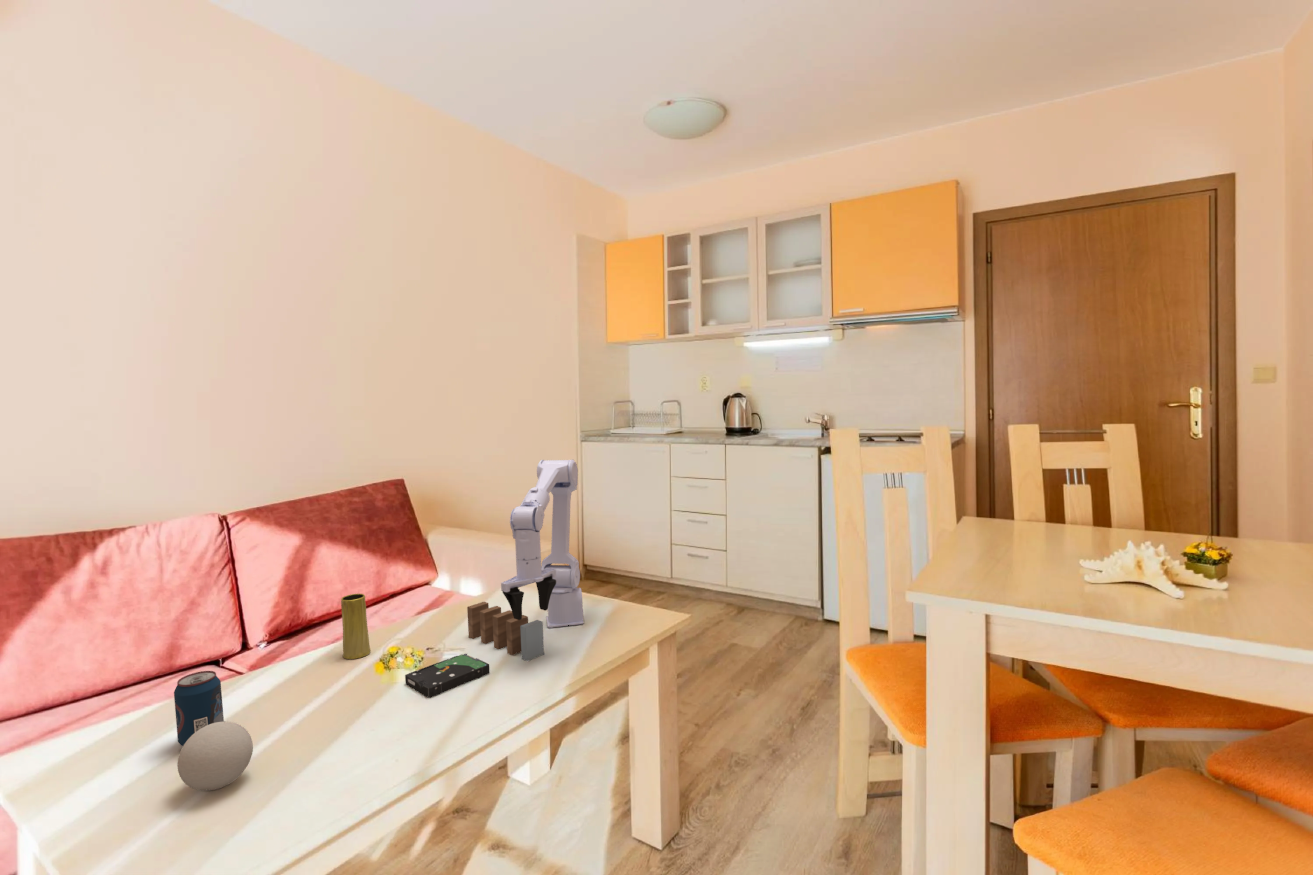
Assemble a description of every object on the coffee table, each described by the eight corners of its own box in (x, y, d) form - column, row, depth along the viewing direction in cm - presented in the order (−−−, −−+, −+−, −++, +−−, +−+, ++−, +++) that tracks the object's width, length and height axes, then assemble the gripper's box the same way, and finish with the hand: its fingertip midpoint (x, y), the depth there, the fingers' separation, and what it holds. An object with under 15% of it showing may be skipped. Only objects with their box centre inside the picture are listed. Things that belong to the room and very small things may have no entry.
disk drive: (429, 701, 130) (490, 675, 141) (428, 688, 129) (490, 662, 141) (404, 687, 136) (465, 662, 148) (403, 674, 136) (464, 651, 147)
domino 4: (544, 654, 150) (542, 621, 150) (527, 661, 146) (525, 627, 146) (538, 652, 152) (537, 619, 151) (521, 659, 148) (520, 625, 147)
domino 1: (502, 637, 161) (501, 607, 160) (485, 644, 157) (484, 612, 157) (497, 636, 162) (496, 605, 162) (481, 642, 159) (479, 611, 158)
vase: (337, 657, 151) (333, 599, 150) (357, 647, 157) (354, 591, 156) (356, 661, 149) (352, 602, 148) (376, 650, 155) (372, 594, 154)
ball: (167, 809, 96) (161, 747, 96) (197, 772, 106) (193, 714, 105) (240, 798, 99) (235, 736, 98) (264, 762, 108) (260, 706, 108)
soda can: (178, 739, 116) (172, 676, 116) (223, 726, 121) (218, 665, 120) (178, 755, 111) (172, 690, 110) (226, 741, 115) (221, 678, 114)
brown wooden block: (515, 643, 157) (514, 611, 157) (498, 649, 154) (497, 617, 153) (510, 641, 159) (509, 610, 158) (493, 647, 155) (492, 615, 154)
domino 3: (529, 648, 154) (528, 616, 153) (512, 655, 150) (510, 622, 150) (524, 646, 155) (522, 614, 155) (507, 653, 151) (505, 620, 151)
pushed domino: (489, 632, 165) (488, 602, 164) (473, 638, 161) (471, 608, 160) (485, 631, 166) (483, 601, 165) (468, 637, 162) (467, 606, 162)
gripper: (513, 567, 139) (516, 626, 140) (563, 553, 150) (565, 608, 151) (494, 562, 144) (497, 620, 145) (544, 548, 155) (546, 602, 156)
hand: (530, 613), depth 148 cm, fingers open, 7 cm apart
